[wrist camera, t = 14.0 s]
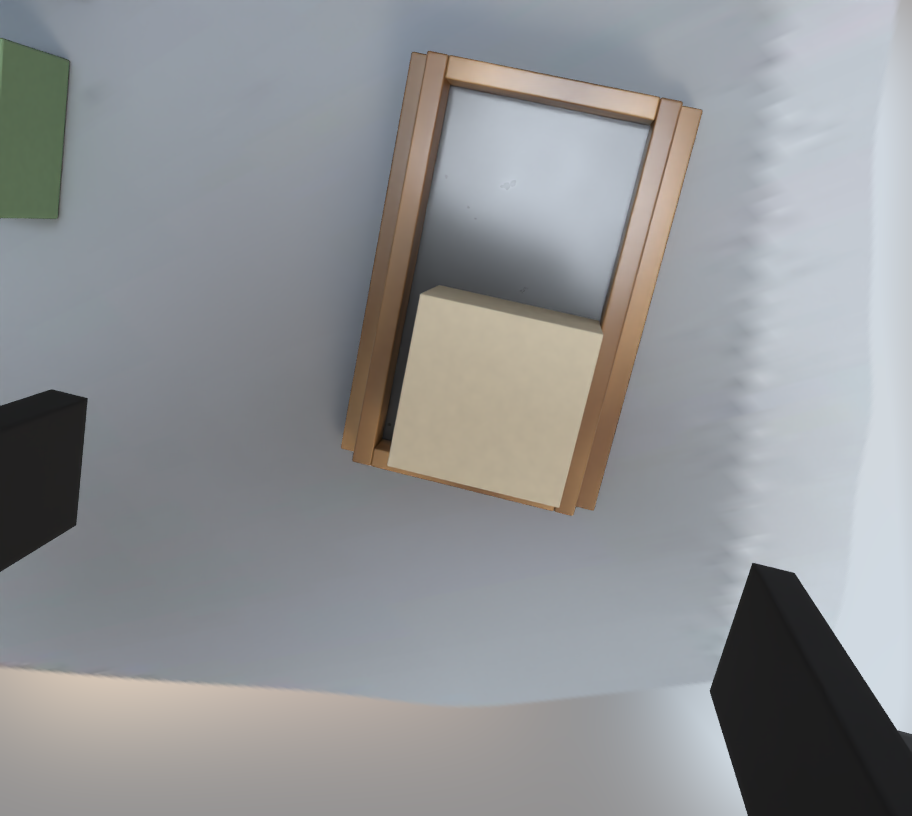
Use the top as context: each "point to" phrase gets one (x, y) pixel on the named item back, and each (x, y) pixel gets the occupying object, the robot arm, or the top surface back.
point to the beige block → (494, 393)
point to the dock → (521, 229)
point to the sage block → (31, 130)
